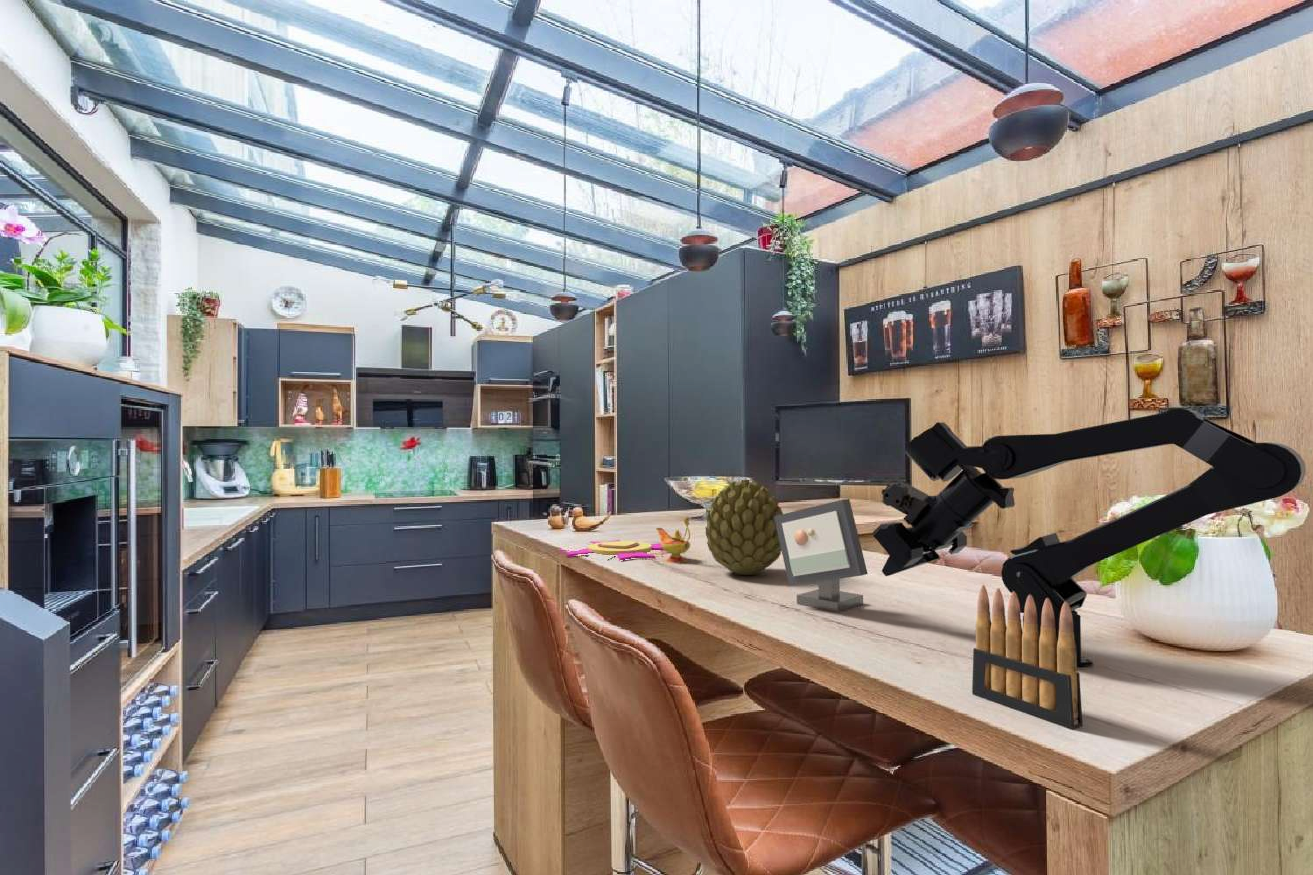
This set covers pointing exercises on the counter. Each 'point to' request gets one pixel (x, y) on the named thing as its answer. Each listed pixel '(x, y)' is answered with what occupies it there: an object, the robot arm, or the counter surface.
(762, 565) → the decorative object
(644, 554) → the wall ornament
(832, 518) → the picture frame
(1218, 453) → the robot arm
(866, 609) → the counter surface
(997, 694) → the ammunition clip
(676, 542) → the magic lamp
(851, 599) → the picture stand
